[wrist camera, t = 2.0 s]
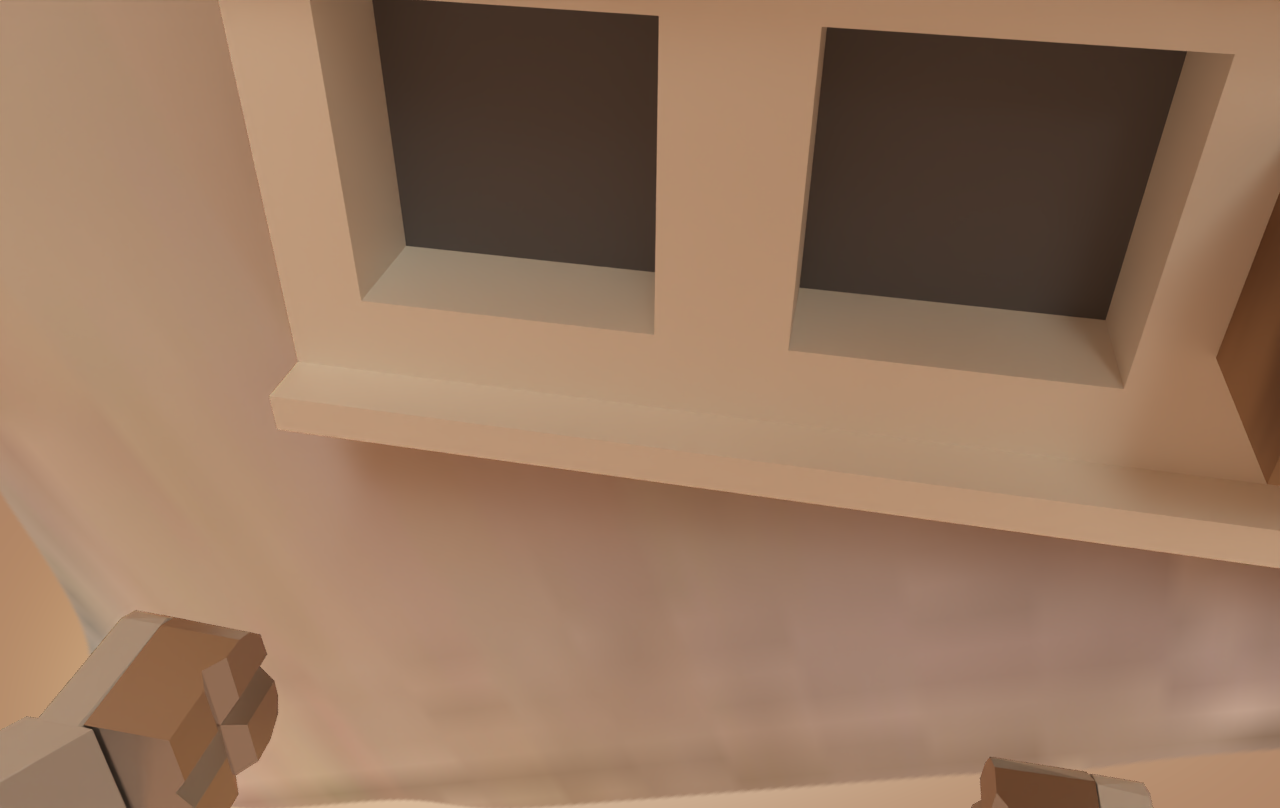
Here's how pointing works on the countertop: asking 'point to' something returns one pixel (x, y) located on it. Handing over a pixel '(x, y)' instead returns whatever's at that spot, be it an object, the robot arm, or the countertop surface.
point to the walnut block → (1258, 352)
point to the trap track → (784, 246)
